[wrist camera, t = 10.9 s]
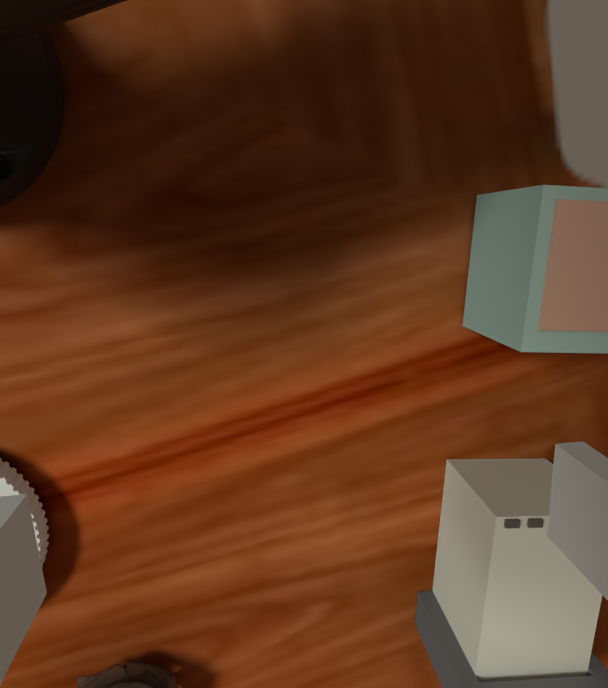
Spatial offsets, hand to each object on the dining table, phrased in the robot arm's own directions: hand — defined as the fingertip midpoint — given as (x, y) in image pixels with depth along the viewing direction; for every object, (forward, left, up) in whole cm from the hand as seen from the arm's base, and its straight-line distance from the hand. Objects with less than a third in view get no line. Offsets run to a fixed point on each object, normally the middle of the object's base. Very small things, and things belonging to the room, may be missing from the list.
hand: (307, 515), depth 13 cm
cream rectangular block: (+17, +18, -23) cm, 34 cm away
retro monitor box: (-5, +18, -23) cm, 29 cm away
